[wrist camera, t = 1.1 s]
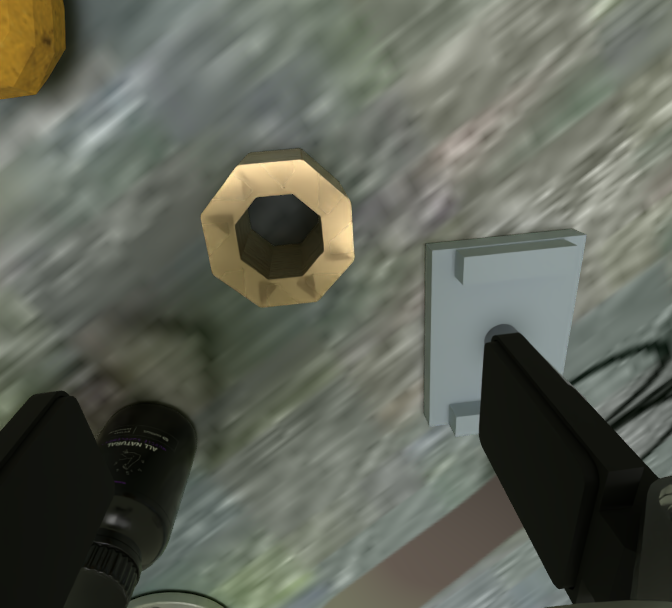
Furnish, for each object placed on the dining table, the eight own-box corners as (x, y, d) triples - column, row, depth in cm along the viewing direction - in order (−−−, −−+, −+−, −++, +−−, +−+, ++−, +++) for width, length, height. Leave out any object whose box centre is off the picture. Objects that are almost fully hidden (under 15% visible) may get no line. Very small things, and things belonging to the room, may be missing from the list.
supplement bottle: (165, 385, 31) (97, 534, 20) (215, 449, 34) (179, 611, 23) (84, 422, 32) (-24, 585, 21) (139, 482, 35) (69, 653, 24)
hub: (344, 260, 28) (356, 297, 23) (234, 272, 28) (220, 312, 23) (336, 144, 25) (347, 155, 20) (212, 155, 25) (190, 169, 20)
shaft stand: (546, 399, 35) (629, 495, 26) (424, 413, 34) (467, 516, 26) (572, 228, 29) (691, 280, 20) (425, 243, 28) (482, 303, 20)
